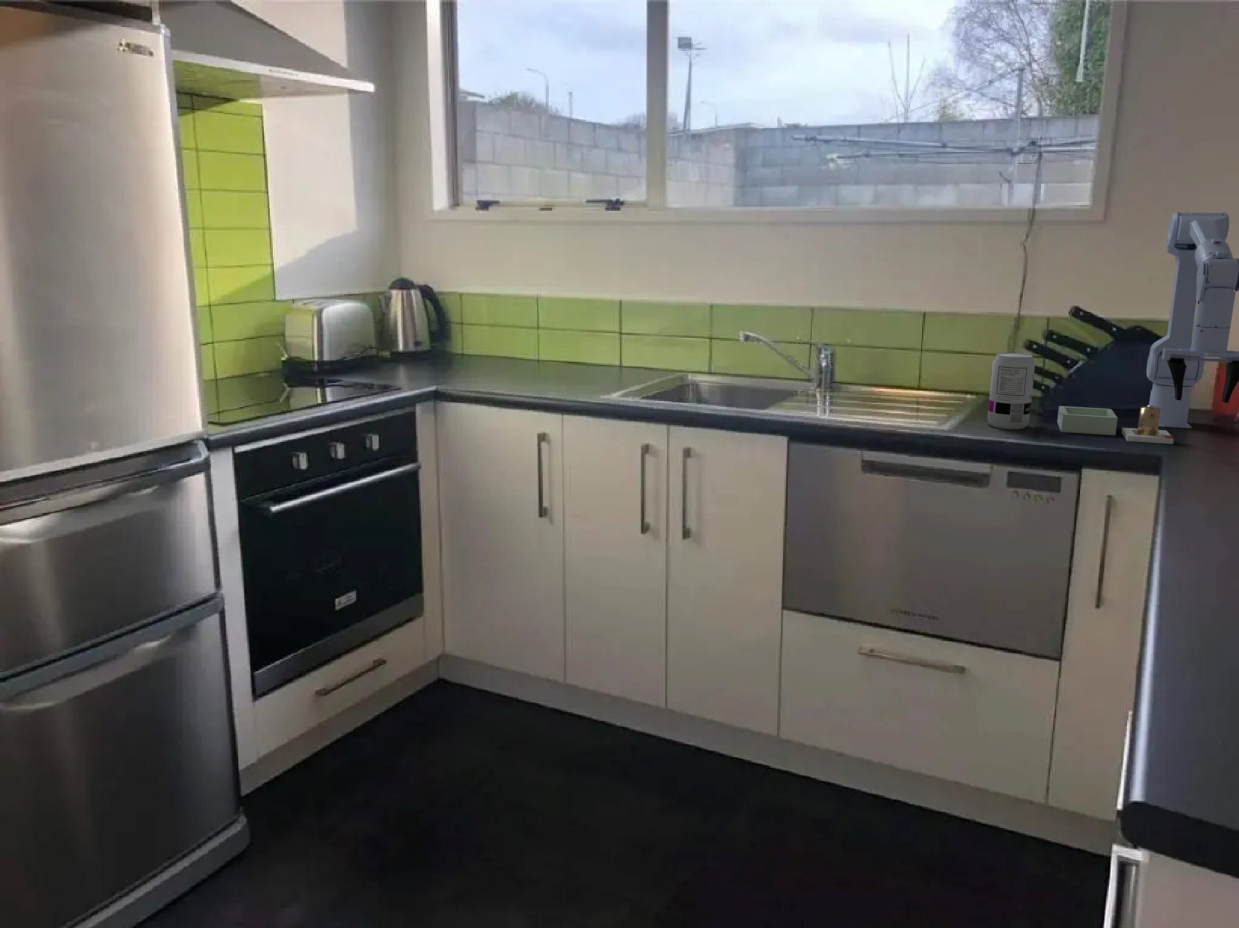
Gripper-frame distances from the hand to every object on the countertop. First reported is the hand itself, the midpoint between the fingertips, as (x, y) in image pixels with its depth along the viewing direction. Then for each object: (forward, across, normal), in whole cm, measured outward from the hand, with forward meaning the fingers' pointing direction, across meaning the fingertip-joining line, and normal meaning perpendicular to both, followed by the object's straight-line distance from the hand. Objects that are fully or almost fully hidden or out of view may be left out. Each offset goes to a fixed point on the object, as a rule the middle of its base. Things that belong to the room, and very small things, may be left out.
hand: (1201, 400), depth 185 cm
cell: (+10, -6, +10) cm, 15 cm away
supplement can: (+10, -32, +16) cm, 37 cm away
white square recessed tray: (+10, -6, +10) cm, 16 cm away
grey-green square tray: (+10, -17, +16) cm, 25 cm away
